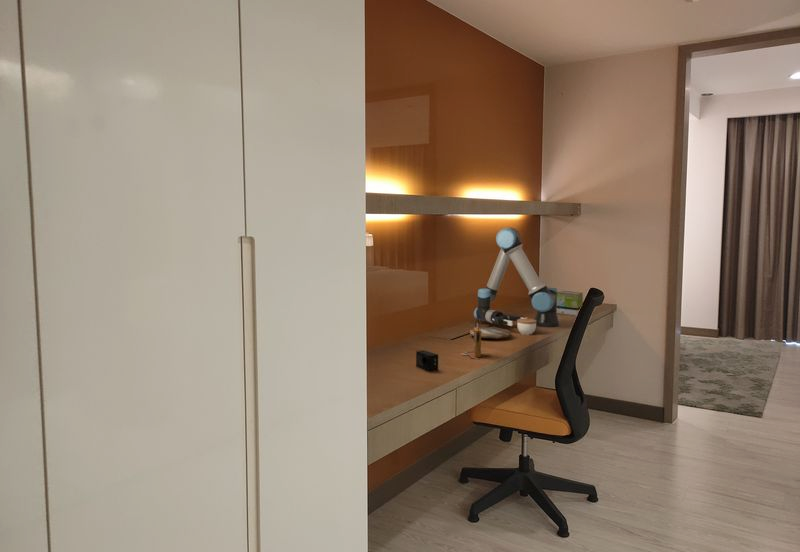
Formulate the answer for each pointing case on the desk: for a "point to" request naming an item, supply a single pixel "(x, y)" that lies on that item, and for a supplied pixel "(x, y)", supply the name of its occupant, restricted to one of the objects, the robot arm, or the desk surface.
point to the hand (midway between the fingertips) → (520, 322)
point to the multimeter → (476, 341)
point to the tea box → (569, 302)
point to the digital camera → (427, 360)
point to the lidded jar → (526, 326)
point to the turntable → (492, 332)
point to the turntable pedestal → (490, 338)
